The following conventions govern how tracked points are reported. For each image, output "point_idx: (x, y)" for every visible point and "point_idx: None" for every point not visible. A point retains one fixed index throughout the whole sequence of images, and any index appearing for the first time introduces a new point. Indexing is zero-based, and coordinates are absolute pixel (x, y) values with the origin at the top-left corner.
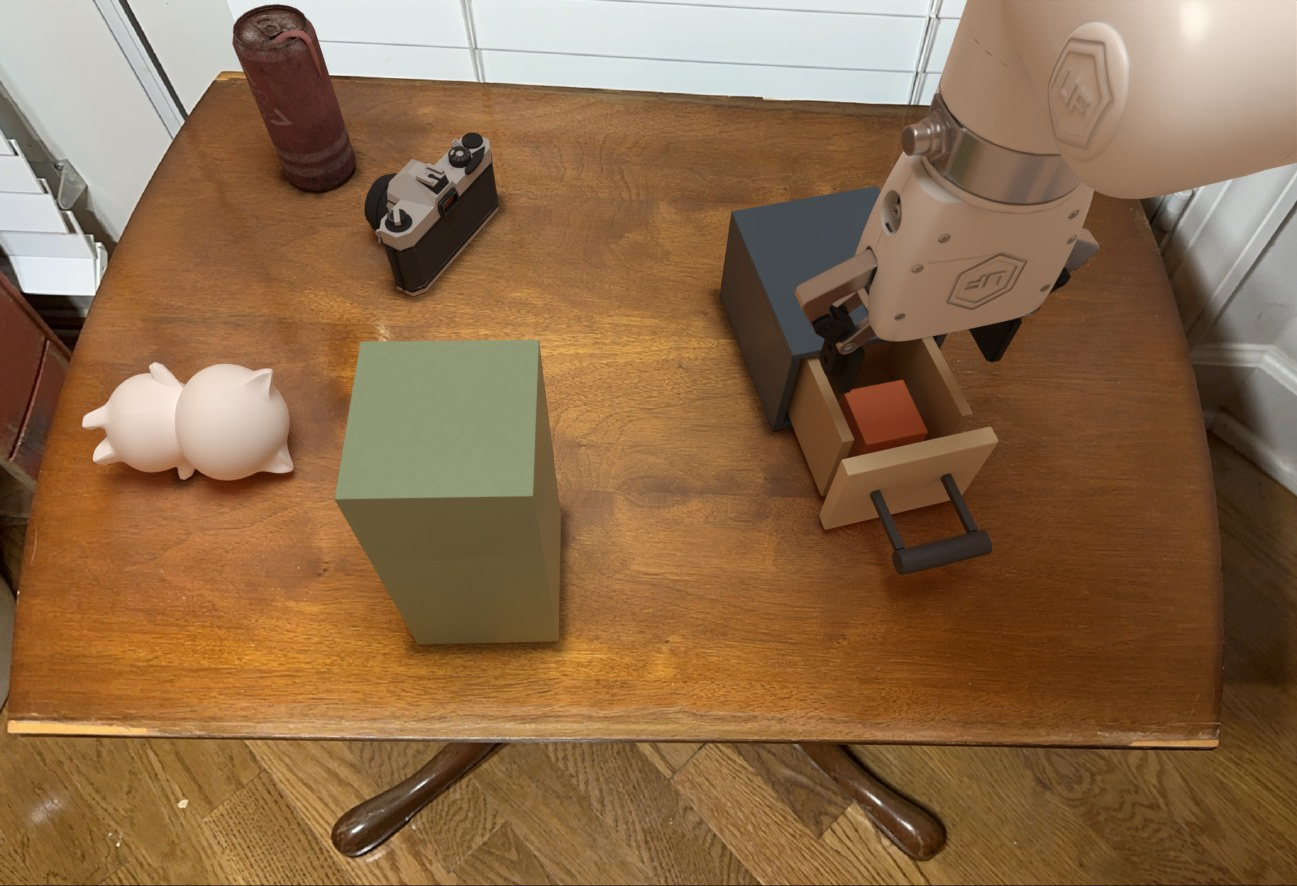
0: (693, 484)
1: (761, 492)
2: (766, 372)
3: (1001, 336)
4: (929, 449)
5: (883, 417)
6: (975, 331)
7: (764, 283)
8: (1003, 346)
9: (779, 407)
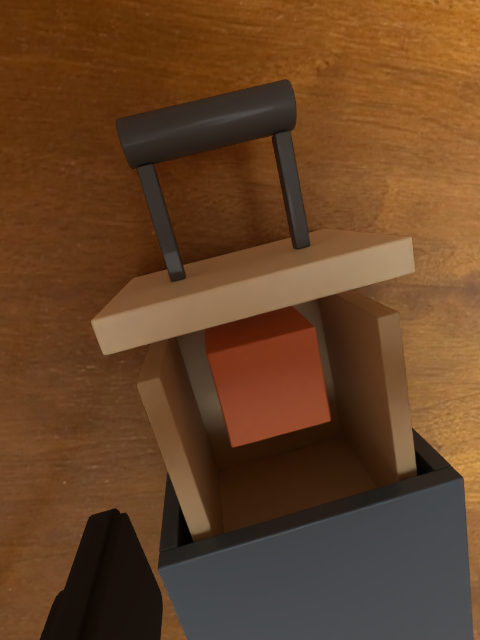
0: (457, 298)
1: (382, 289)
2: None
3: (96, 633)
4: (241, 298)
5: (277, 378)
6: (150, 595)
7: (468, 599)
8: (85, 581)
9: None
